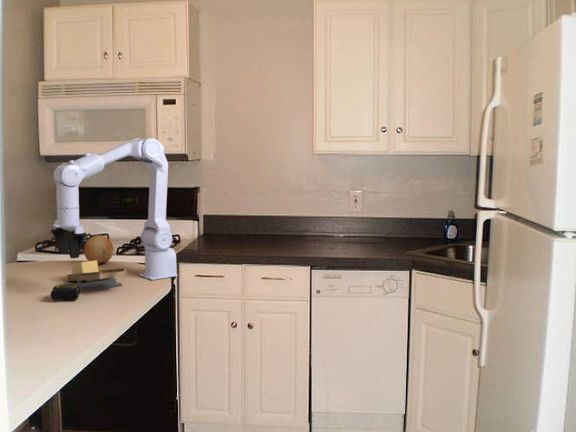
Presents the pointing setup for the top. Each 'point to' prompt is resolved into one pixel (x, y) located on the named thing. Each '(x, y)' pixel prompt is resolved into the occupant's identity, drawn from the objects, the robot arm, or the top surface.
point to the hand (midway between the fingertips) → (68, 255)
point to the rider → (85, 267)
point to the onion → (98, 249)
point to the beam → (97, 275)
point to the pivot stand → (97, 284)
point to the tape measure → (65, 292)
